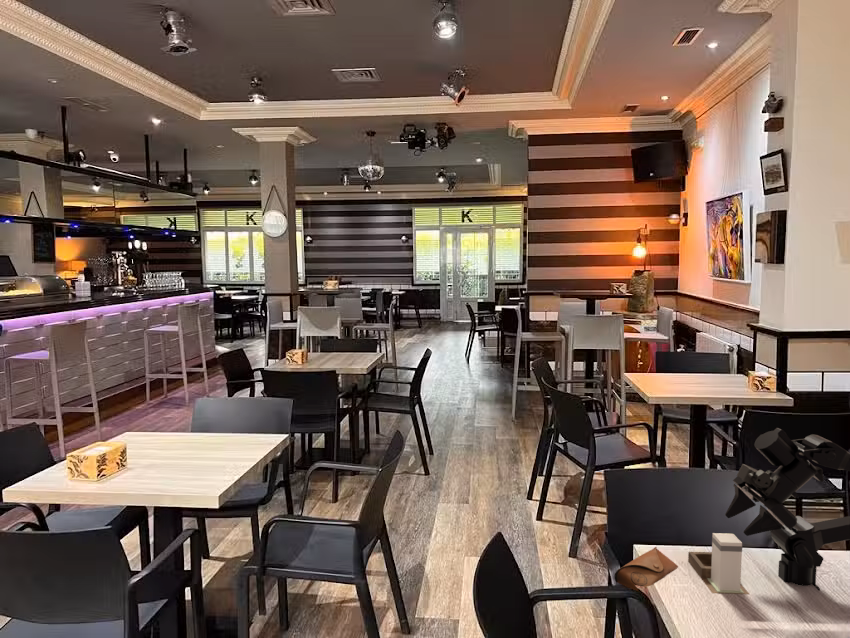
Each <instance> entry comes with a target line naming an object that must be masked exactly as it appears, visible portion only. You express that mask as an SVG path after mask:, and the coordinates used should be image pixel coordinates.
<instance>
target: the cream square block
mask: <svg viewBox="0 0 850 638" xmlns="http://www.w3.org/2000/svg"><path fill="white" fill-rule="evenodd" d="M711 552H712V564H711V580H712V581H713V583H714V584H715V585H716V586H717V588H718V589H719V590H735V591H740V584H742V583H741V582H742V581H741V580H742V578H741V577H742V556H743V542H742V541H741V540H740V539H739V538H738V537H737V536H736V535H735V534H734V533H726V532H725V533H719V532H718V533H717V532H716V533H715V532H712V536H711Z"/></svg>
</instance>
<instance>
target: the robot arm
mask: <svg viewBox="0 0 850 638" xmlns="http://www.w3.org/2000/svg"><path fill="white" fill-rule="evenodd" d="M754 441H755V442H754V444H753V445H754V448H755V449H756V450H757V451H758V452H759V453H760V454H761V455H763V457H764V458H765V459H767V460H768V462H769V463H770V464H771V465H773V466H774V467H775V466H776V467H778V468H777V469H775V470H774V471H772V470H770V469H769V470H766V471H764V470H762V469H759V470H758V469H756V468H753V467H752V466H750V465H747V464H744V463H742V464H741V467H740V468H739V470H738V471H737V474H736V477H735V478H734V479H733V480H732V481H733V487H734V496H733V499H732V500H731V502H730V504H729V506H728V507H727V510H726V512H725V514H724V516H725V517H726V518H727V519H732V517H733V518H734V517H735V516H737V515H739V514H742V513H744V512H745V511H747V510H750V509H752V508H753V507H755V506H757V504H756V503H761V504H760V505H759V513H758V515H757V516H756V517H755V518H754V519H753V520H752V521H751V522H750V523H749V524H748V526H746V528H745V529H744V530H743V534H744V535H745V536H746V537H748V536H752V535H757V534H761V533H764V532H765V533H766V532H770V533H771V535H770V536H771V539H772V540H773V542H775V543H776V544H777V547H778V549H779V550H781V551H782V552H783V553H781V554H780V555H781V556H780V560H779V561H778V573H777V574H778V577H779V579H781V581H783V582H784V583H788V584H793V585H796V586H799V587H800V586H801V587H802V586H803V587H808V586H813V587H814V588H816V590H817V591H820V586H818V584H816V582H817V568H820V567H821V566H822V563H823V561H824V557H823V556H822V555H821V554H820V553H819V552H818V551H819V550H820V549H821V548H822V547H823V546H825V545H828V544H834V543H839V542H840V543H841V542H844V541H849V540H850V515H847V516H842V517H838V518H831V519H828V520H822V521H817V522H809V521H808V520H806V519H805V518H803V517H802V516H800V515H794V514H793V512H791V511H790V510H789V509H788V507H786V506H785V505H784V503H785V502H786V501H787V500H789V498H791V496H792V497H793V498H794V499H796V498H797V497H798V496H799V494H798V493H797V491H799V489H801V488H802V487H803V486H804V485H805V484H806V483H808V482H809V481H810V480H811V479H812V478H814V479H815V480H817V481H819V482H821V483H822V482H824V474H823V473H824V472H823V471H824V470H823V469H822V468H821V467H819V466H818V465H820V466H822V467H825V468H829V469H833V470H839V471H841V470H842V471H846V472H847V471H848V472H850V452H849V451H848V450H846V449H845V448H843V447H842V446H840V445H839V444H837V443H835V442H833V441H831V440H829V439H826V438H824V437H822V436H820V435H818V434H813V433H812V434H810V435H807V436H805V438H798V439H791V438H790V437H789V436H788V435H787V433H786V432H785V431H784V430H783V429H781V428H779V427H776V428H775V429H774V430H771V431H770V430H769V431H766V432H765V433H763V434H762V433H761V434H760V435H759V436H758V437H757V438H756V439H755V440H754ZM799 455H800V456H803V457H804V458H803V457H802V458H801V457H800V456H799ZM810 461H812V462H813V463H816V464H818V465H817V466H816V465H813V464H812V462H810ZM764 506H765V507H764Z"/></svg>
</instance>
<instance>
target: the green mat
mask: <svg viewBox="0 0 850 638" xmlns="http://www.w3.org/2000/svg"><path fill="white" fill-rule="evenodd" d="M707 580H708V581H709V582H710V584H711V585H712V586H713V588H714V589H715V590H716V591H717V593H716V594H723V593H744V592H743V591H742V590H741V588H740V591H735V590H719V589H718V588H717V586H716V585H715V584H714V583H713V581H712V580H711V578H707Z"/></svg>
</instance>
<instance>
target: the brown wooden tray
mask: <svg viewBox="0 0 850 638" xmlns="http://www.w3.org/2000/svg"><path fill="white" fill-rule="evenodd" d="M687 554H688V557H687V562H688V564H689V565H690V566H691V568H692V569H693V570H694V572H696V574H697V576H699V577H700V579H701V580H702V582H703V583H704V585H705V586H706V587H707V588H708V590H709V591H710V592H711V594H718V593H717V591H716V590H715V589H714V588H713V586H712V585H711V584H710V582H709V581H708V580H707V578H711V564H712V551H688V553H687ZM740 588H741V590H742V591H743V592H744V593H722V594H729V595H730V594H732V595H733V594H734V595H750V592H749V591H747V589H746V588H745V587H744V586H743V585H742V583H740Z"/></svg>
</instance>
